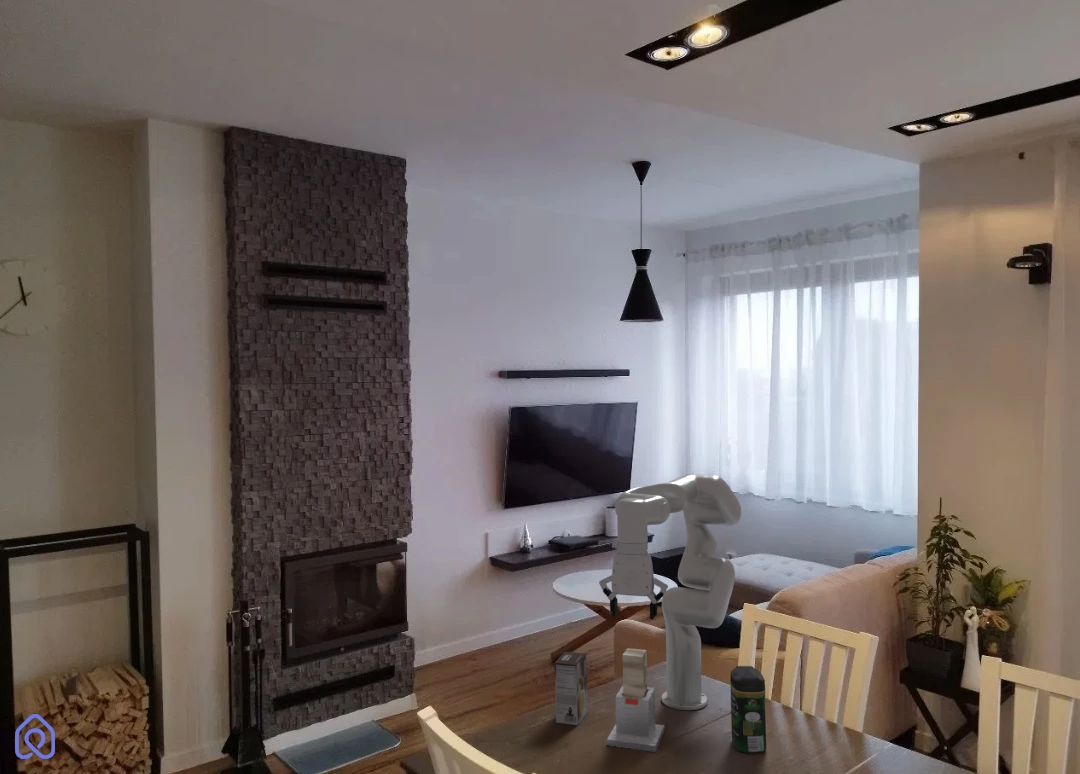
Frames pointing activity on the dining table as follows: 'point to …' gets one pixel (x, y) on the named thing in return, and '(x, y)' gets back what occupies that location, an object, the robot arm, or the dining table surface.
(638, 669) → the post
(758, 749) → the coffee jar
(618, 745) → the stand
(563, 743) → the dining table surface
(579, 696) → the coffee box
